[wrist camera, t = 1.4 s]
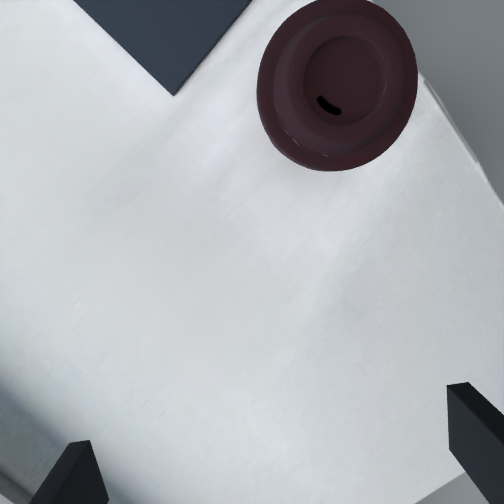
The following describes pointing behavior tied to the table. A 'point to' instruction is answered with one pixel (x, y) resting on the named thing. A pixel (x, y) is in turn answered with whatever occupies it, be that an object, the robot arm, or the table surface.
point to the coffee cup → (337, 84)
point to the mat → (166, 32)
